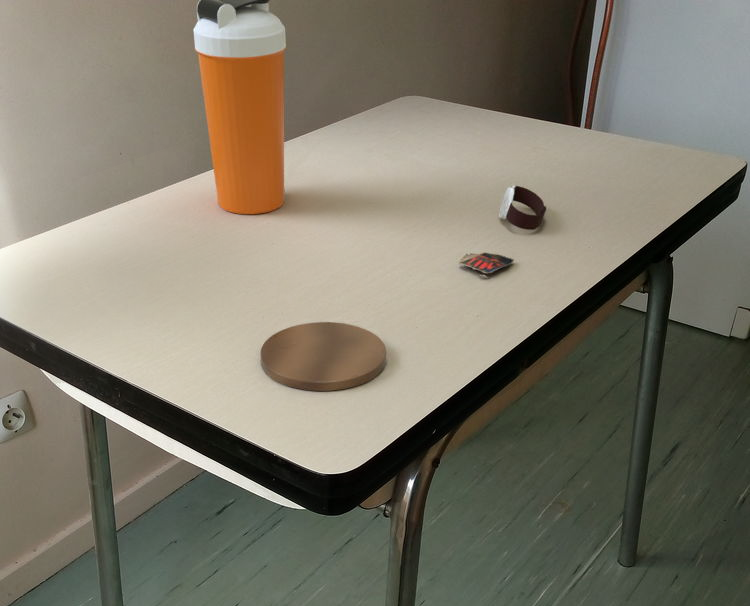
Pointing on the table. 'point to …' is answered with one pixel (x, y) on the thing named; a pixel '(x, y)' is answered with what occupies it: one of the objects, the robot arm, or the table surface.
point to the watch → (527, 199)
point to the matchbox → (485, 262)
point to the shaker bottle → (243, 101)
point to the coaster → (323, 356)
